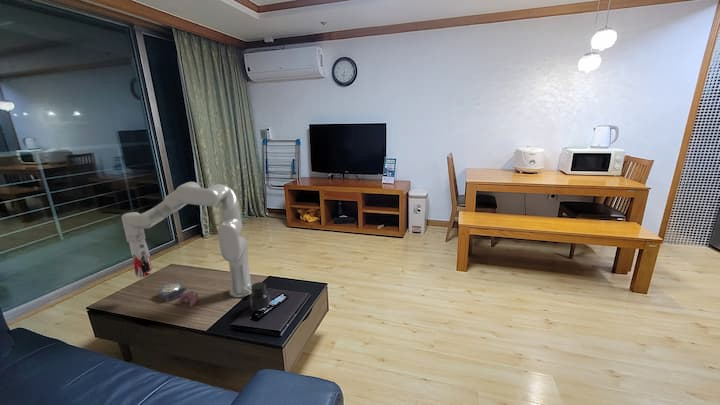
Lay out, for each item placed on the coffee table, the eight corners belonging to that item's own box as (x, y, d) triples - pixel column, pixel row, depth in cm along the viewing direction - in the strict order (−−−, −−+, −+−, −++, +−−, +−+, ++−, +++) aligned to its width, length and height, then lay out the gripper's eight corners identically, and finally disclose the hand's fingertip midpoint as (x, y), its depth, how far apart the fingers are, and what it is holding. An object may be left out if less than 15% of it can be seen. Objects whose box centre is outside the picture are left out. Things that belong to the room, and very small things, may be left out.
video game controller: (198, 306, 154) (201, 292, 156) (190, 307, 150) (193, 292, 151) (183, 303, 158) (186, 289, 159) (175, 304, 153) (179, 289, 155)
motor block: (187, 293, 163) (186, 286, 162) (167, 302, 155) (166, 295, 154) (174, 286, 171) (173, 279, 170) (154, 294, 164) (153, 287, 162)
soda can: (144, 279, 151) (139, 257, 148) (132, 277, 153) (127, 256, 150) (156, 272, 158) (151, 251, 155) (144, 271, 159) (140, 250, 156)
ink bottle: (263, 299, 156) (260, 279, 153) (274, 305, 151) (272, 283, 148) (247, 309, 148) (244, 287, 145) (258, 315, 144) (255, 292, 140)
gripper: (151, 237, 148) (159, 270, 153) (137, 231, 158) (144, 262, 162) (134, 242, 142) (142, 277, 147) (120, 236, 152) (128, 268, 156)
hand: (143, 269), depth 154 cm, fingers closed on soda can, 7 cm apart
